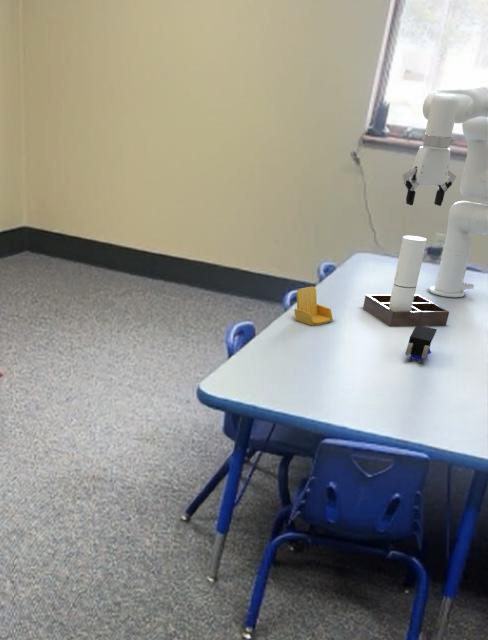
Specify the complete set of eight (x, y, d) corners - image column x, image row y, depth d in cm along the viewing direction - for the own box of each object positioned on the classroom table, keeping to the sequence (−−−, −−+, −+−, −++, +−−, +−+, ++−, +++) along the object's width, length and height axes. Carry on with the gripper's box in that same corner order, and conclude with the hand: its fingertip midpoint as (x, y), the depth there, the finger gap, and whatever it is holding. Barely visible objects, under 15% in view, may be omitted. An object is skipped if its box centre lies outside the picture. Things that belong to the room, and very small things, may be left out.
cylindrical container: (407, 316, 264) (424, 236, 251) (410, 322, 258) (428, 241, 245) (385, 314, 265) (401, 234, 251) (388, 320, 259) (404, 239, 245)
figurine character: (425, 371, 225) (432, 350, 236) (431, 345, 221) (438, 326, 232) (401, 366, 227) (409, 346, 238) (406, 341, 223) (415, 322, 234)
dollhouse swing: (312, 326, 250) (317, 296, 245) (290, 318, 256) (294, 289, 251) (334, 321, 257) (339, 292, 252) (311, 313, 262) (315, 285, 257)
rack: (415, 308, 277) (418, 294, 275) (445, 325, 261) (449, 311, 259) (362, 308, 273) (365, 294, 270) (390, 326, 256) (393, 311, 254)
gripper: (455, 142, 242) (442, 202, 251) (404, 139, 238) (392, 201, 247) (469, 145, 236) (454, 207, 245) (416, 143, 232) (403, 206, 241)
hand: (423, 204), depth 246 cm, fingers open, 9 cm apart
